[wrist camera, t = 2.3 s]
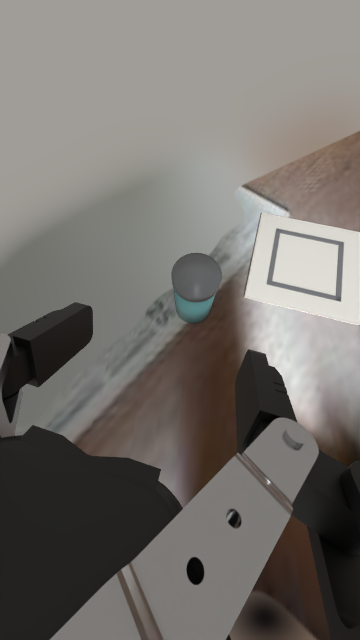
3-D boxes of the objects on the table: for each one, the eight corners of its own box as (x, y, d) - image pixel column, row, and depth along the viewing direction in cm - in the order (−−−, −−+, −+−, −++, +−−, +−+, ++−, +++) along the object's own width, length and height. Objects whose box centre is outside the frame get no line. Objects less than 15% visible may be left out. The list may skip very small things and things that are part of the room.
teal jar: (214, 295, 27) (226, 258, 20) (206, 328, 26) (215, 302, 18) (180, 287, 28) (179, 248, 20) (170, 318, 26) (165, 289, 19)
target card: (359, 234, 30) (362, 232, 29) (357, 325, 26) (361, 324, 25) (261, 214, 31) (262, 212, 31) (243, 297, 27) (245, 295, 27)
